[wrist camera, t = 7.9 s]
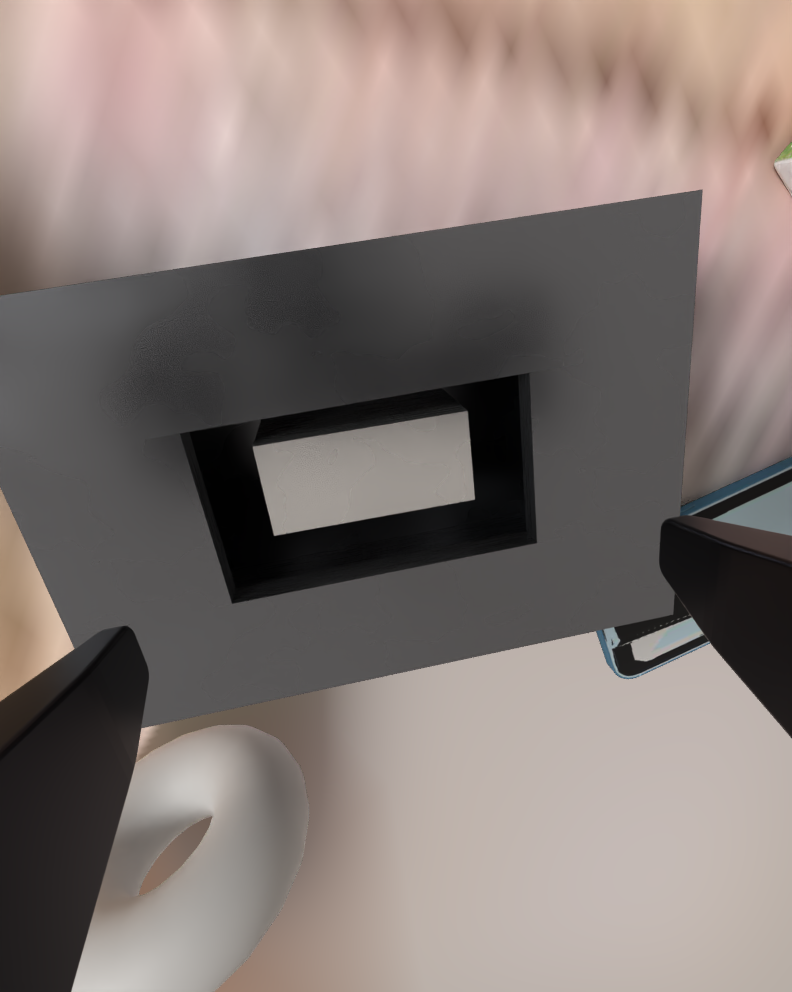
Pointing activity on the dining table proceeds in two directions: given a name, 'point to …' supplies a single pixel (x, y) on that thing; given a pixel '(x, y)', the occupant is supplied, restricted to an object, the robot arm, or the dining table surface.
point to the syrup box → (785, 167)
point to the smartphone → (653, 643)
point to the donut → (198, 863)
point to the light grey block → (364, 460)
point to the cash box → (345, 380)
